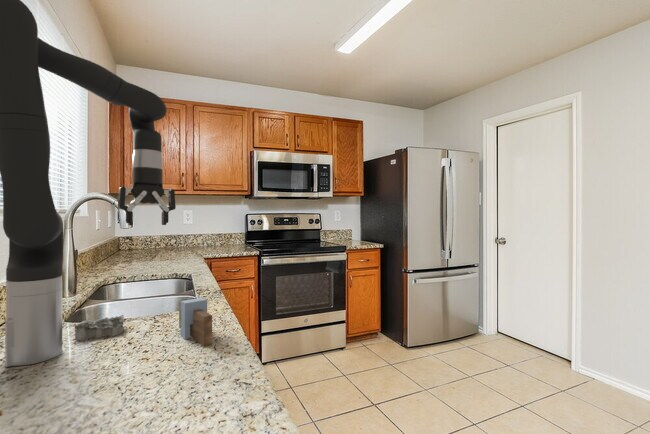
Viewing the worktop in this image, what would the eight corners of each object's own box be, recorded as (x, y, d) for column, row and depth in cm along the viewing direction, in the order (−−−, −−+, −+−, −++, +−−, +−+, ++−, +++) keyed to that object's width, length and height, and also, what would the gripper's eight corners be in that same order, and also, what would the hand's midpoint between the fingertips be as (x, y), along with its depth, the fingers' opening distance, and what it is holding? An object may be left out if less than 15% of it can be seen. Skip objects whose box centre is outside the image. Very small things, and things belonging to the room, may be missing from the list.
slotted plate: (203, 346, 79) (203, 316, 79) (179, 327, 93) (179, 301, 93) (212, 344, 80) (212, 315, 80) (186, 325, 94) (186, 300, 94)
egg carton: (71, 342, 82) (71, 326, 82) (78, 333, 89) (78, 317, 89) (122, 335, 87) (122, 319, 87) (125, 327, 94) (125, 312, 94)
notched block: (184, 339, 83) (184, 303, 83) (180, 336, 86) (180, 301, 86) (207, 334, 87) (207, 299, 87) (202, 331, 89) (202, 297, 89)
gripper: (121, 163, 87) (121, 226, 87) (178, 168, 96) (178, 225, 96) (115, 166, 93) (116, 225, 93) (170, 171, 102) (170, 224, 102)
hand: (147, 225), depth 95 cm, fingers open, 8 cm apart
